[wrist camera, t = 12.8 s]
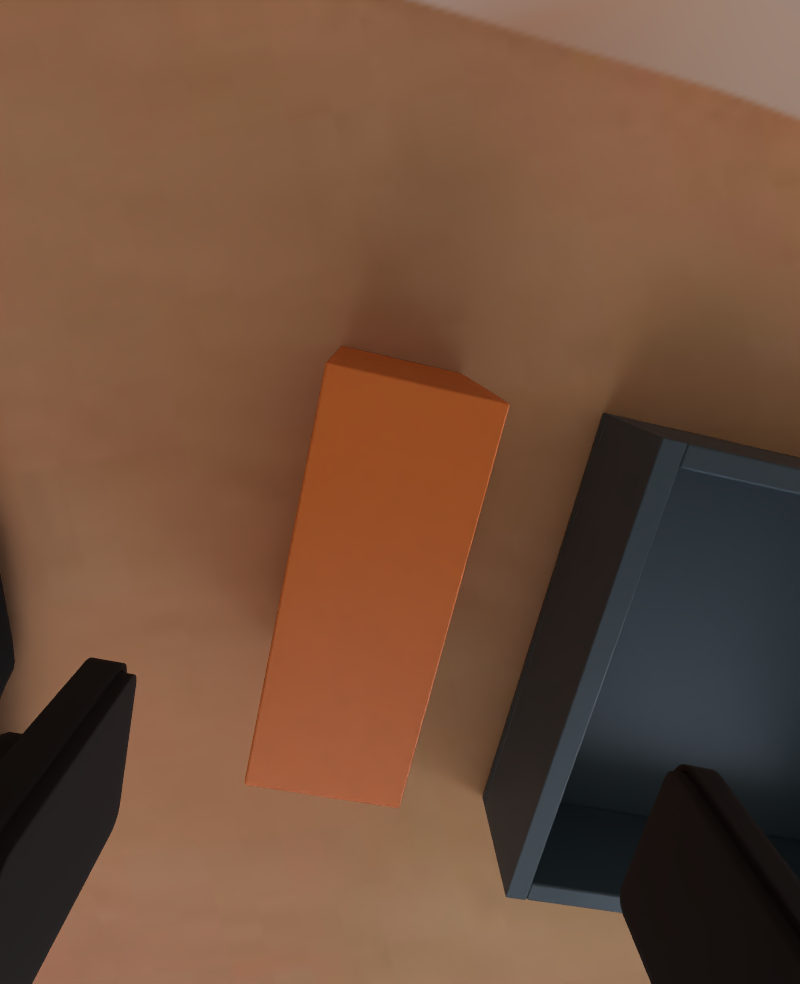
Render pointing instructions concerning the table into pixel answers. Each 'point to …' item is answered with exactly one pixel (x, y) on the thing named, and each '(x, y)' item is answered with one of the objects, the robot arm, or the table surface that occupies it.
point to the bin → (654, 661)
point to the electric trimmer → (5, 643)
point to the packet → (372, 575)
